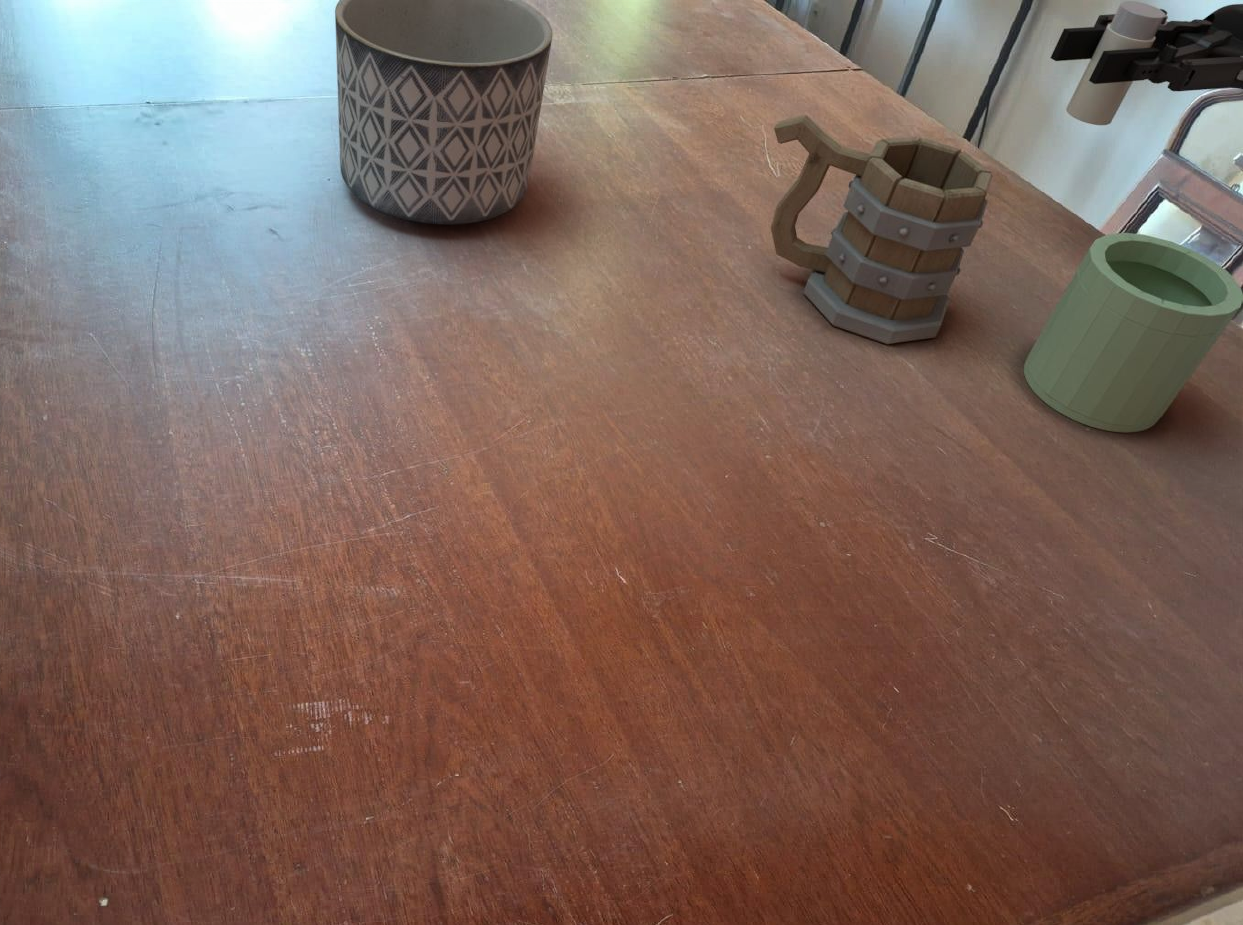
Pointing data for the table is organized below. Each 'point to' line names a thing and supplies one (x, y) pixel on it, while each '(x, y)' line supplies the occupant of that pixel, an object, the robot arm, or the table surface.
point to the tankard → (884, 230)
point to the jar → (1130, 331)
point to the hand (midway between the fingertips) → (1079, 55)
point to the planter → (439, 104)
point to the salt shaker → (1124, 32)
